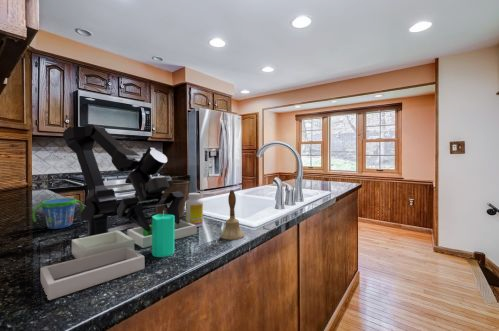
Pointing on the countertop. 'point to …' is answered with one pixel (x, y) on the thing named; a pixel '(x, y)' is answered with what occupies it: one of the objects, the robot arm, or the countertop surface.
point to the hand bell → (232, 222)
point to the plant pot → (176, 187)
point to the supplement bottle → (194, 209)
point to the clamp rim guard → (146, 241)
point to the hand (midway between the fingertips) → (164, 227)
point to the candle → (163, 235)
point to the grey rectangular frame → (91, 277)
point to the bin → (100, 243)
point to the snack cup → (58, 212)
